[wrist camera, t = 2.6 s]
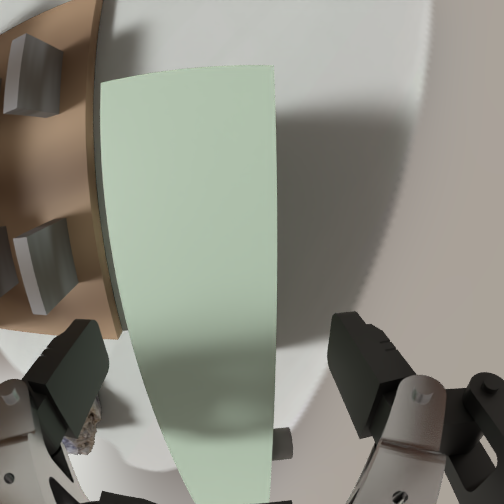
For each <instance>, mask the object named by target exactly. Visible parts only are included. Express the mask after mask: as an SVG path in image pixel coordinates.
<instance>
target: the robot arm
mask: <svg viewBox="0 0 504 504" xmlns="http://www.w3.org/2000/svg"><path fill="white" fill-rule="evenodd" d="M46 348H47V349H45V350H44V351H43V352H42V354H41V356H39V357H38V359H37V360H36V361H35V363H34V364H33V365H32V366H31V368H30V369H29V370H28V372H27V373H26V374H25V376H24V377H23V378H22V380H19V379H10V380H7V381H5V382H3V383H1V384H0V504H156V503H153V502H151V501H148V500H145V499H141V498H135V497H129V496H123V495H119V494H114V493H109V492H105V491H102V493H101V497H100V500H99V501H91V502H90V501H89V499H88V498H87V497H86V495H85V494H84V492H83V490H82V489H81V486H80V484H79V482H78V480H77V477H76V475H75V472H74V470H73V467H72V464H71V462H70V459H69V456H68V454H67V451H66V448H65V446H64V444H63V443H62V439H63V437H64V436H67V437H71V438H75V439H78V437H79V434H80V432H81V430H82V427H83V425H84V423H85V420H86V418H87V416H88V414H89V411H90V409H91V407H92V405H93V403H94V400H95V398H96V396H97V394H98V392H99V390H100V388H101V385H102V383H103V381H104V379H105V377H106V375H107V373H108V369H109V358H108V354H107V351H106V348H105V345H104V341H103V338H102V335H101V331H100V328H99V325H98V323H97V321H96V320H91V319H75V320H74V321H73V322H72V323H71V324H70V326H69V327H68V328H67V329H66V330H65V332H63V333H61V334H60V335H58V336H57V337H55V338H54V339H53V340H52V341H51V342H50V344H49V345H48V346H47V347H46ZM327 359H328V365H329V369H330V371H331V373H332V376H333V378H334V380H335V382H336V385H337V387H338V389H339V391H340V394H341V396H342V399H343V401H344V403H345V405H346V408H347V410H348V412H349V415H350V417H351V420H352V422H353V424H354V426H355V429H356V431H357V433H358V436H359V438H360V439H362V438H366V437H370V436H373V438H374V441H375V443H374V446H373V448H372V450H371V453H370V455H369V457H368V459H367V462H366V464H365V466H364V469H363V471H362V473H361V475H360V477H359V479H358V481H357V483H356V486H355V487H354V489H353V491H352V493H351V495H350V497H349V499H348V500H347V502H346V504H436V502H437V499H438V495H439V491H440V487H441V483H442V478H443V473H444V471H445V473H446V475H447V477H448V480H449V482H450V484H451V486H452V488H453V490H454V493H455V495H456V497H457V499H458V501H459V504H504V380H503V379H501V378H500V377H499V376H497V375H495V374H492V373H487V372H483V373H478V374H476V375H474V376H473V377H472V378H471V380H470V382H469V384H468V386H467V388H459V389H445V388H444V386H443V385H442V384H441V383H440V382H439V381H437V380H436V379H434V378H432V377H429V376H425V375H416V373H415V372H414V371H413V369H412V368H411V367H410V365H409V364H408V363H407V362H406V360H405V359H404V358H403V357H402V355H401V354H400V352H399V351H398V350H396V347H395V346H394V345H393V344H392V342H390V340H389V338H388V337H387V336H386V335H385V333H384V332H383V331H382V330H380V329H378V328H377V327H375V326H373V325H372V324H365V322H364V321H363V320H362V318H361V317H360V316H359V314H358V313H357V312H355V311H354V312H344V313H335V314H334V315H333V317H332V321H331V329H330V337H329V344H328V352H327ZM483 435H484V436H485V437H486V438H487V440H488V442H489V443H490V445H491V447H492V448H493V449H494V451H495V453H496V455H497V460H498V462H497V467H496V468H495V466H494V464H493V463H492V461H491V459H490V457H489V456H488V454H487V453H486V451H485V449H484V448H483V446H482V444H481V443H480V441H479V440H480V439H481V438H482V436H483ZM258 504H292V501H291V500H290V501H281V502H271V503H258Z"/></svg>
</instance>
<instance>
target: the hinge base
mask: <svg viewBox="0 0 504 504" xmlns="http://www.w3.org/2000/svg"><path fill="white" fill-rule="evenodd" d="M102 4H103V0H72V1H69V2H67V3H64V4H62V5H59V6H57V7H55V8H52V9H50V10H48V11H45V12H43V13H41V14H39V15H37V16H35V17H33V18H31V19H29V20H27V21H25V22H23V23H21V24H19V25H17V26H15V27H14V28H12V29H10V30H8V31H6V32H5V33H3V34H1V35H0V328H1V329H8V330H15V331H22V332H30V333H39V334H48V335H60V334H61V333H63V332H65V330H66V329H67V328H68V327H69V326H70V324H71V323H72V322H73V321H74V320H75V319H91V320H96V321H97V323H98V325H99V328H100V331H101V335H102V338H103V339H117V340H118V339H119V337H120V335H121V333H122V327H121V324H120V320H119V316H118V312H117V308H116V303H115V299H114V295H113V290H112V286H111V281H110V276H109V271H108V266H107V260H106V255H105V249H104V243H103V236H102V230H101V222H100V215H99V206H98V197H97V187H96V175H95V161H94V138H93V94H94V72H95V58H96V47H97V38H98V30H99V23H100V16H101V9H102Z"/></svg>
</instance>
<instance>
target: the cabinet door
mask: <svg viewBox="0 0 504 504" xmlns="http://www.w3.org/2000/svg"><path fill="white" fill-rule="evenodd" d="M100 138H101V161H102V176H103V188H104V198H105V207H106V216H107V224H108V231H109V238H110V244H111V251H112V257H113V262H114V268H115V273H116V278H117V283H118V288H119V293H120V298H121V302H122V306H123V311H124V315H125V319H126V323H127V327H128V331H129V335H130V338H131V342H132V346H133V349H134V353H135V356H136V360H137V363H138V366H139V369H140V373H141V376H142V379H143V382H144V385H145V388H146V391H147V394H148V397H149V400H150V402H151V405H152V408H153V411H154V413H155V416H156V419H157V421H158V424H159V426H160V429H161V431H162V434H163V436H164V439H165V441H166V443H167V446H168V448H169V450H170V453H171V455H172V457H173V460H174V462H175V464H176V466H177V468H178V470H179V473H180V475H181V476H182V479H183V481H184V483H185V485H186V487H187V489H188V491H189V493H190V494H191V497H192V499H193V500H194V502H195V504H258V503H269V499H270V483H271V465H272V461H273V460H283V459H291V458H292V456H293V444H292V436H291V432H290V429H289V427H286V428H277V429H273V423H274V396H275V364H276V318H277V162H276V116H275V84H274V66H269V65H237V66H213V67H199V68H187V69H178V70H169V71H162V72H155V73H148V74H142V75H136V76H131V77H126V78H121V79H116V80H111V81H107V82H102V83H101V91H100Z"/></svg>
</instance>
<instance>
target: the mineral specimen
mask: <svg viewBox="0 0 504 504" xmlns="http://www.w3.org/2000/svg"><path fill="white" fill-rule="evenodd" d="M99 421H101V406H100V402H99V398H98V395H97V396H96V398H95V400H94V403H93V405H92V407H91V409H90V411H89V414H88V416H87V418H86V420H85V423H84V425H83V427H82V430H81V432H80V434H79V437H78V439H75V438H71V437H67V436H64V437H63V439H62V443H63V444H64V446H65V448H66V451H67V454H75V455H78V454H80V455H81V454H85V455H88V454H89V453H90V452H91V450H92V447H93V445H94V443H95V442H94V440H95V438H94V437H95V433H96V432H97V430H96V428H95V427H96V424H97V423H99Z"/></svg>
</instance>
